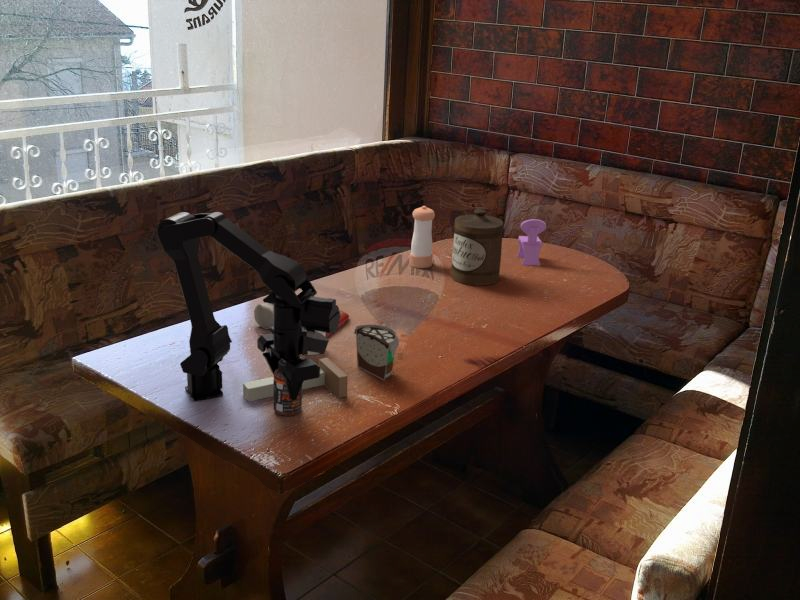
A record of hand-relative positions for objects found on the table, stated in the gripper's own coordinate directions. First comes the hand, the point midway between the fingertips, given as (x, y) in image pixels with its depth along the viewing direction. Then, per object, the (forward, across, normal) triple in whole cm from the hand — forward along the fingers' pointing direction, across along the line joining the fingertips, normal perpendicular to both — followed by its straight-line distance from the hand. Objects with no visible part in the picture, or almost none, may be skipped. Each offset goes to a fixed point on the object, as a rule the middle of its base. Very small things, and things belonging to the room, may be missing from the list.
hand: (287, 393), depth 174 cm
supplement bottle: (+4, 0, 0) cm, 4 cm away
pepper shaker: (+4, +68, -76) cm, 102 cm away
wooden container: (+4, +51, -85) cm, 99 cm away
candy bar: (+4, +35, -28) cm, 44 cm away
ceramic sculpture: (+4, +44, -16) cm, 47 cm away
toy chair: (+4, +57, -111) cm, 125 cm away
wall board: (+4, +5, -4) cm, 8 cm away
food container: (+4, +8, -27) cm, 28 cm away
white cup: (+4, +25, -17) cm, 31 cm away
